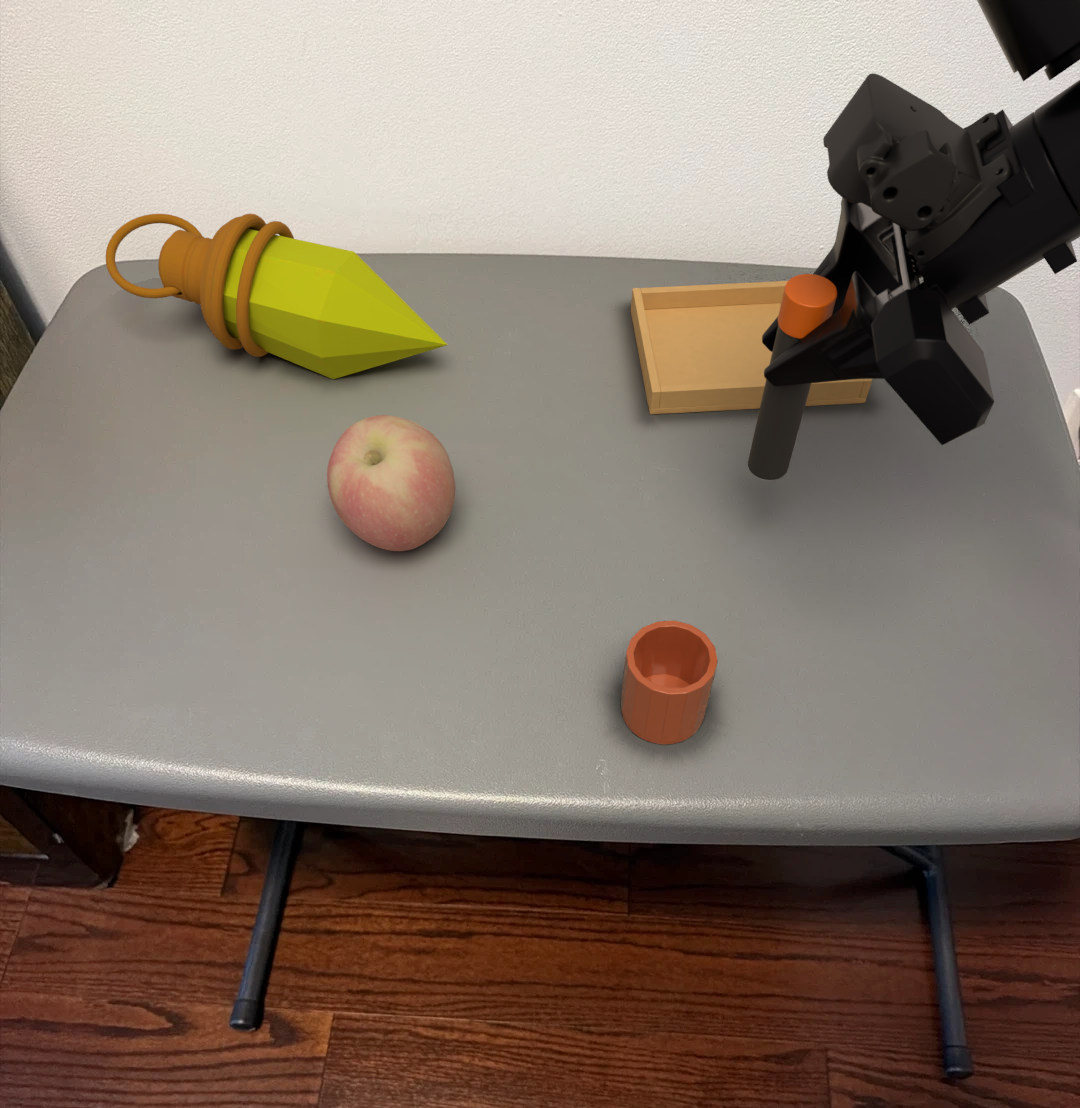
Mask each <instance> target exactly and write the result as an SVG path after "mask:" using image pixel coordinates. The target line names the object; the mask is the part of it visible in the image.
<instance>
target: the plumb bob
mask: <svg viewBox="0 0 1080 1108" xmlns="http://www.w3.org/2000/svg"><path fill="white" fill-rule="evenodd" d="M154 224H165V225H166V224H167V225H172V226H175V227H178V228H180V229H177V230H175V231H174V232H172V234H171V235H170V236H169V237H168V238H167V239H166V240H165V242H164V243H163V245H162V246H161V249H160V253H159V256H158V263H157V265H158V267H157V269H158V275H159V278H160V281H161V283H162V286H163V287H158V288H150V287H149V288H148V287H143V286H139V285H137V284H134V283H132V282H130V281H128V280H127V279H126V278H124V277H123V276H122V274H121V273H120V271H119V270H118V266H117V263H116V256H117V255H116V254H117V250H118V248H119V246H120V245H121V242H122V241H123V240H124V239H125V238H126V237H127V236H128V235H129V234H130V233H132V232H134V231H135V230H138V229H139V228H141V227H144V226H148V225H149V226H150V225H154ZM105 266H106V269H107V271H108V274H109V275H110V278H111V279H112V280H113V281H114V282H115V283H116V285H118V287H120V288H121V289H123V290H124V291H125V292H127V293H129V294H130V295H134V296H137V297H139V298H140V297H141V298H144V299H145V298H147V299H162V298H168V297H174V298H177V299H180V300H184V301H185V302H189V303H190V302H191V303H195V304H196V305H200V309H201V313H202V317H203V319H204V321H205V323H206V325H207V327H208V328H209V330H210V332H211V333H212V335H213V337H215V338H216V339H217V341H219V342H220V344H221V345H222V346H223V347H225V348H227V349H229V350H241V349H242V348H244V350H245V351H246V353H248V354H249V355H251V356H253V357H258V358H260V357H264V356H266V355H267V354H272V355H274V356H277V357H279V358H282V359H283V360H286V361H288V362H290V363H293V364H295V365H298V366H301V367H302V368H304V369H308V370H310V371H312V372H315V373H317V374H320V375H322V376H324V377H327V378H329V379H331V380H336V379H339V378H342V377H345V376H349V375H352V374H356V373H360V372H363V371H365V370H369V369H372V368H376V367H379V366H382V365H386V364H389V363H392V362H396V361H399V360H403V359H406V358H409V357H413V356H415V355H416V356H417V355H420V354H422V353H423V354H424V353H426V352H430V351H433V350H436V349H440V348H443V347H446V346H448V345H449V344H448V343H447V342H446V341H445V340H444V339H443V338H442V337H441V336H440V335H439V334H438V333H436V331H435V330H434V329H433V328H432V327H431V326H430V325H428V323H426V322H425V320H424V319H423V318H422V317H420V315H419V314H418V313H417V312H416V311H415V310H413V309H412V307H410V305H408V304H407V303H406V302H405V300H403V299H402V297H400V296H399V295H398V294H397V293H396V292H395V291H394V290H393V289H392V288H391V286H389V284H387V283H386V282H385V281H384V280H383V279H382V278H381V277H380V276H379V275H378V274H377V273H376V272H375V271H374V270H373V269H372V268H371V267H370V266H369V265H368V264H367V263H366V262H365V261H364V260H363V259H362V258H361V257H360V256H359V255H358V254H357V253H356V252H355V251H353V250H348V249H344V248H339V247H334V246H329V245H325V244H320V243H315V242H312V241H311V242H310V241H306V240H302V239H297V238H295V237H294V235H293V233H292V231H291V229H290V227H289V226H288V225H287V224H285V223H283V222H282V221H278V220H273V221H269V222H267V223H266V222H265V220H264V219H263V218H262V217H261V216H259V215H258V214H256V213H245V214H242V215H241V216H236V217H234V218H231V220H229V221H227V222H225V223H224V224H223V225H222V226H220V227H219V228H218V230H216V232H215V234H214V235H213V237H212V238H210V237H205V236H203V234H202V233H201V232H200V230H199V229H198V228H197V227H196V226H195V225H193V224H192V223H191V222H190V221H188V220H186V219H184V218H182V217H180V216H177V215H173V214H168V213H150V214H149V213H148V214H145V215H141V216H138V217H135V218H133V219H131V220H129V221H127V222H126V223H124V224H122V225H121V226H120V227H119V228H118V229H117V230H116V231H115V232H114V233H113V234H112V236H111V238H110V239H109V241H108V243H107V247H106V250H105Z"/></svg>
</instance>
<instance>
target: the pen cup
mask: <svg viewBox="0 0 1080 1108" xmlns="http://www.w3.org/2000/svg"><path fill="white" fill-rule="evenodd" d="M716 650H717V649H716V647H715V645H714V643H713V642H712V640H711V639H710V638H709V637H708V635H707V633H706V632H703V631H702V630H700V629H699V628H697V627H696V626H694V625H693V624H690V623H686V622H682V621H678V620H660V621H655V622H652V623H650V624H647V625H645V626H643V627H641V628H640V629H639V630H638V631H637V632H636V633H635V634H634V635H633V636H631V638H630V640H629V643H628V645H627V648H626V652H625V660H624V670H623V676H622V677H623V679H622V685H621V694H620V695H621V696H620V702H621V703H620V712H621V716H622V718H623V721H624V723H625V725H626V727H628V729H629V730H630V731H631V732H632V733H633V734H634V735H636V736H637V737H639V738H640V739H642V740H644V741H646V742H648V743H651V744H657V745H674V744H679V743H682V742H684V741H686V740H688V739H690V738H691V737H692V736H694V735H695V734H696V733H697V732H698V730H699V729H700V728H701V726H702V725H703V722H704V719H705V716H706V711H707V708H708V704H709V699H710V696H711V691H712V687H713V683H714V678H715V675H716V671H717V667H718V656H717V651H716Z"/></svg>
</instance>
